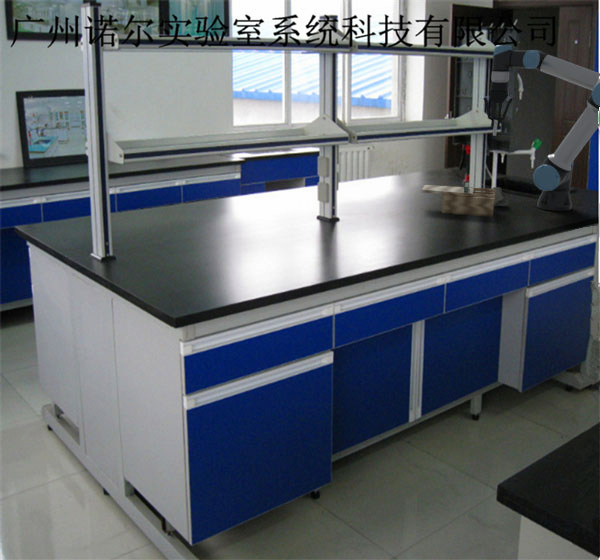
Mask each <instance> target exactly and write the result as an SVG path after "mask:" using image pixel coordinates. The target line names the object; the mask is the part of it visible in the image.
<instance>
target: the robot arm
mask: <svg viewBox="0 0 600 560" xmlns="http://www.w3.org/2000/svg"><path fill="white" fill-rule="evenodd" d="M493 49H494V50H493V55H492V58H493V59H492V67H491V68H492V70H491V78H490V79H491V82H490V88H489V89H490V90H489V93H488V94H487V96H484V97H483V101H484V102H485V107H486V115H487V119H488V120H490V121H491V123H490V128H491V129H492V136H494V137H496V136H497V132H498V131H497V130H498V129H500V126H501V121H502V120H504V121H505V118H506V117H507V113H508V110H509V107H510V105H511V103H512V102H513V97H510V96H509V82H508V81H509V79H510V70H511V69H527V70H529V69H530V70H531V69H533V70H537V71H538V72H541V73H544V74H548V75H550V76H552V77H554V78H555V77H556V78H558V79H561V80H563V81H566V82H568V83H571V84H573V85H576V86H579V87H582V88H584V89H587V90H590V91H591V92H592V93H591V94H590V95H589V97H588V99H586V104H587V106H586V107H585V109H584V110H583V112H582V113H581V115H580V116H579V117H578V119H577V121H576V122H574V124H573V126H572V128H570V131H569V132H567V134H566V136H565V137H564V139H563V140H562V141H561V143H560V144H559V146H557V148H556V149H555V151H554V153H551V154H548V155H547V156H546V158H545V159H544V161H543V162H542V163H541V165H539V166H537V168H535V170H534V172H533V175H532V180H533V183H534V185H535V186H536V187H537V188H538V189H539V190H541V194H540V195H539V198H538V200H537V201H536V202H537V204H536V207H537V208H539V209H543V210H548V211H554V212H567V211H571V210H572V208H573V203H572V198H571V197H572V196H571V194H570V192H571V191H570V190H571V185H572V177H573V170H574V160H575V159H576V158H577V156H578V155H579V154H580V152H581V151H582V149H583V148H585V146H586V144H587V143H588V141H590V139H591V138H592V136H593V135H594V133H595V132H596V131H597V129H599V126H600V125H599V124H598V111H599V107H600V72H597V71H594V70H592V69H590V68H586V67H583V66H581V65H578V64H576V63H573V62H569V61H567V60H564V59H561V58H558V57H556V56H554V55H551V54H547V53H545V52H543V51H542V50H539V49H534V50H533V49H528V50H527V49H525V50H524V49H523V50H522V49H517V50H516V49H513V46H512V45H510V44H505V45H503V44H502V45H501V44H497V45H495V46H494V48H493ZM490 100H491V102H492V111H491V109H490V104H489V101H490ZM505 101H507V102H506V104H505V108H504V110H503V114H502V106H503V103H504V102H505ZM497 104H498V111H497V112H498V113H497V120H495V118H496V109H497ZM490 111H491V112H490Z"/></svg>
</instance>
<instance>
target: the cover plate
mask: <svg viewBox="0 0 600 560" xmlns="http://www.w3.org/2000/svg"><path fill="white" fill-rule="evenodd" d="M448 186H449V185H435V184H434V185H432V184H424V185H423V187H422V188H421V193H426V194H439V195H443V191H446V192H460V193H473V191H474V188H475V187H472V188H469V187H470V182H465V183H464V186H457V187H448ZM463 187H464V188H463Z"/></svg>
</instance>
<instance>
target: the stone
mask: <svg viewBox="0 0 600 560" xmlns="http://www.w3.org/2000/svg"><path fill="white" fill-rule="evenodd" d="M490 189H495V192H493V193H495V199H494V207H506V206H507V205H508V204H509V203H510V202H509V200H508V197H507V196H506V193H504V192H503V190H502V187H501V186H499V187H498V186H496V187H495V186H494V187H491V188H490Z"/></svg>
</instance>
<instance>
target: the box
mask: <svg viewBox="0 0 600 560" xmlns="http://www.w3.org/2000/svg"><path fill="white" fill-rule="evenodd" d="M447 186H448V187H458V186H455V185H447ZM462 187H463V188H464V186H462ZM469 188H474V191H473V193H460V192H446V191H443V194H442V201H441V214H450V213H452V215H464V216H475V217H476V216H477V217H491V218H493V216H494V207H495V206H494V199H495V193H493V192H495V189H491V188H483V187H470V186H469Z"/></svg>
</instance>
